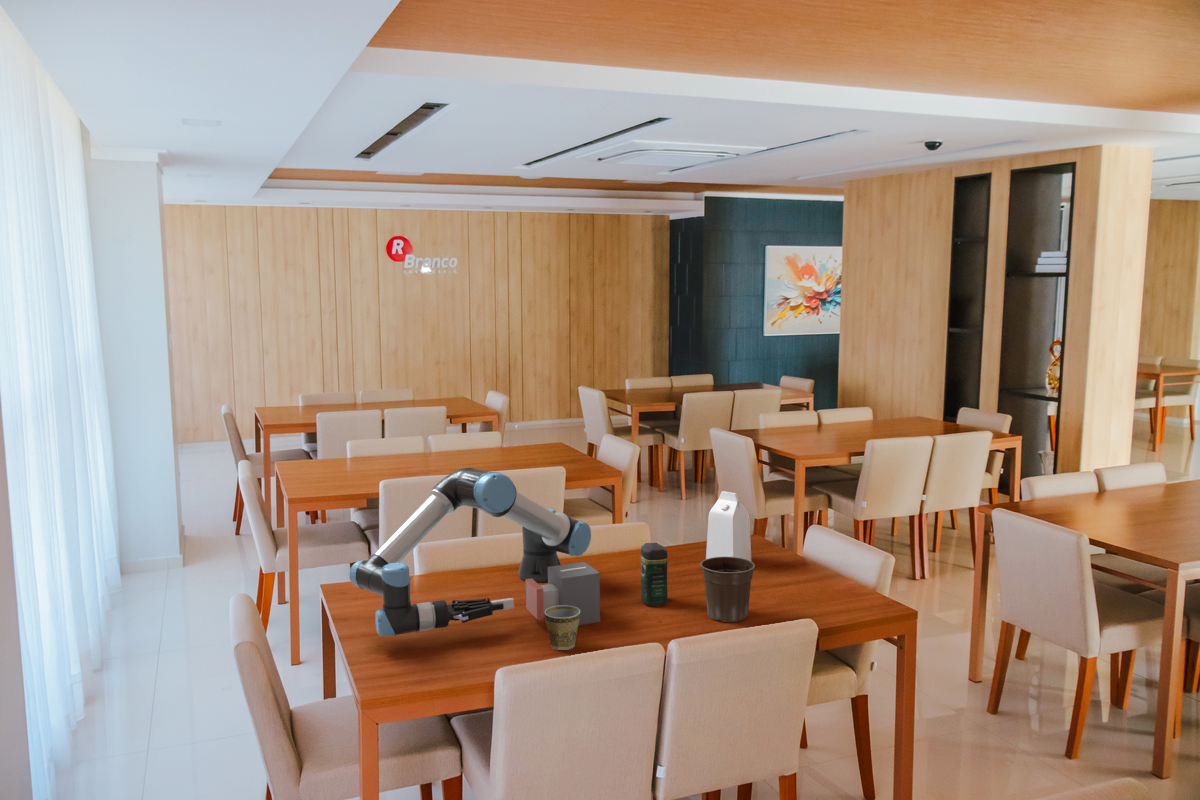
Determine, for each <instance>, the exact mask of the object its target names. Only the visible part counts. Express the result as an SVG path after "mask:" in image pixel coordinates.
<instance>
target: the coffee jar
mask: <svg viewBox="0 0 1200 800" xmlns="http://www.w3.org/2000/svg"><path fill="white" fill-rule="evenodd" d="M668 562H669V561H668V550H667V548H666V547H665V546H664V545H661V544H659V543H657V542H646V543H644V544H643V545H642V546H641V547H640V568H641V570H640V599H641V601H642V602H643V603H644V605H646V606H654V607H659V606H660V607H661V606H662V605H666V604H668Z"/></svg>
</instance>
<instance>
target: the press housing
mask: <svg viewBox="0 0 1200 800" xmlns="http://www.w3.org/2000/svg"><path fill="white" fill-rule="evenodd" d="M600 573H601V572H599V571H598V570H596V569H595V568H593V567H592V566H591V565H589V564H588V563H586V562H585V561H581V562H574V563H567V564H561V565H558V566H551V567H548V581H547V584H553V585H555V586H556V587H557V588H558V589H559V605H569V606H574V607H577V608H578V609H580V619H579V624H578V626H584V625H589V624H595V623H601V589H600V588H601V581H600V579H601V578H600ZM583 624H584V625H583Z"/></svg>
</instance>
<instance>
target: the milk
mask: <svg viewBox="0 0 1200 800" xmlns="http://www.w3.org/2000/svg"><path fill="white" fill-rule="evenodd" d="M707 521H708V522H707V537H706V552H705V553H706V555H705V559H709V558H714V557H737V558H743V559H747V560H749V561H751V562H752V549H751V546H752V545H751V544H752V543H751V527H750V526H751V523H750V513H749V510H748V509H747V508H746V507H745V506H744V504H743V503H742V502H741V501H740V499H739V495H738V493H736V492H730V491H724V490H722V491H721V492H720V494H719V497H718V499H717V500H716V502H715V503H714V505H713V506H712V507H711V509H710V511H709V512H708V520H707Z"/></svg>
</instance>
